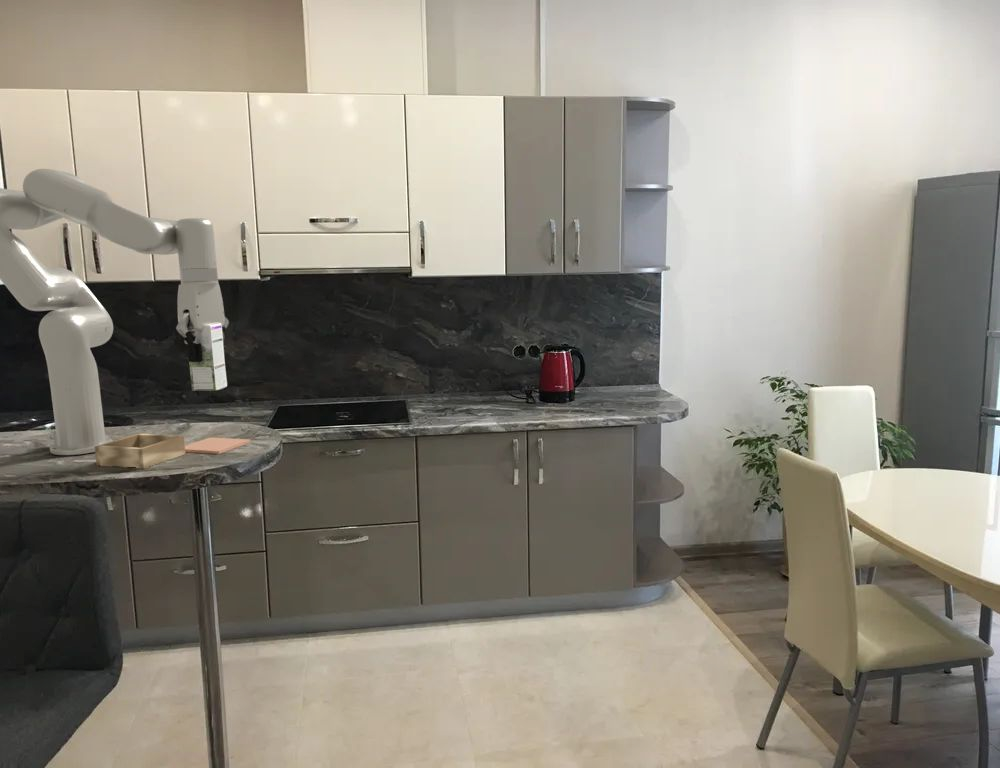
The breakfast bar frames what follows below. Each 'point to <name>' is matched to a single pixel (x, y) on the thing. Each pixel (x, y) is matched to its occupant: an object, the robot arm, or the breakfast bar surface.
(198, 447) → the terracotta tile
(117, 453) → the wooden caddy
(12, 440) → the breakfast bar surface
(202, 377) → the syrup box
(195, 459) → the breakfast bar surface
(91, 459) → the breakfast bar surface
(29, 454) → the breakfast bar surface
